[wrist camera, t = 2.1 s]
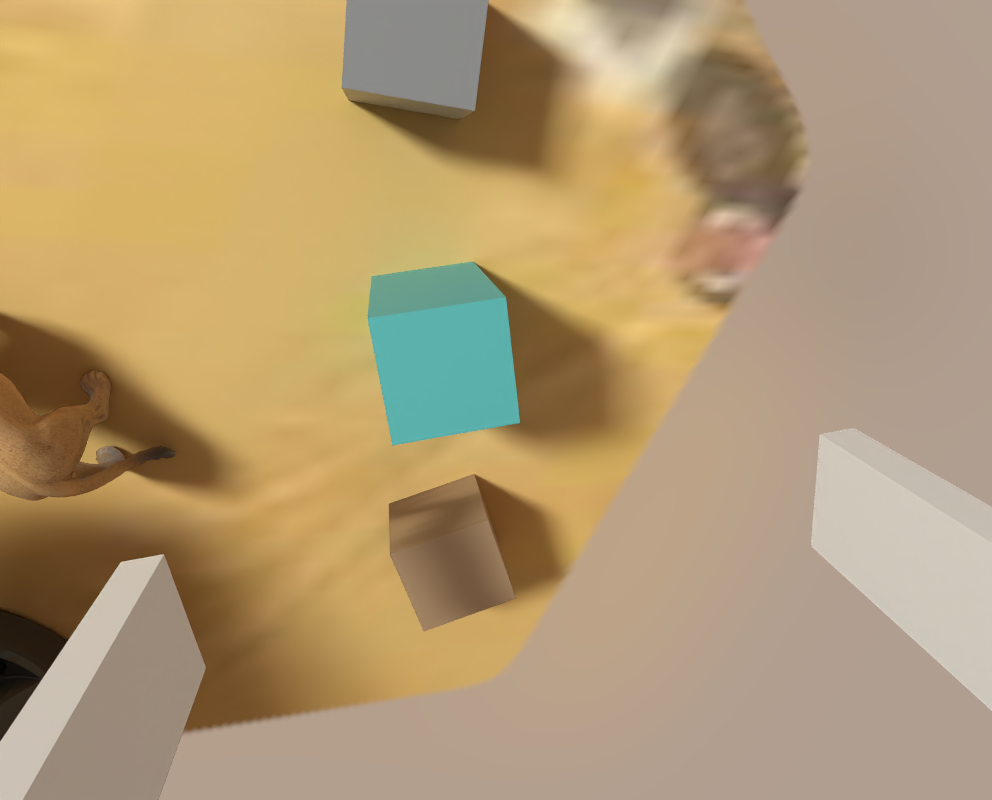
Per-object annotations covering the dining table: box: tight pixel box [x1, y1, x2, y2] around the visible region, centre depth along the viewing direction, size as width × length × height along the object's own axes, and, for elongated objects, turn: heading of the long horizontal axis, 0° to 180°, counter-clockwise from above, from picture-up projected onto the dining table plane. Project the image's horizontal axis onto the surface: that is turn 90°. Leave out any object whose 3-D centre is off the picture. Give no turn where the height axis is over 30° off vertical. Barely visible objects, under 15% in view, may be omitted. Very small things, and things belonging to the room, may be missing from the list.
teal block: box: [368, 262, 520, 445], centre depth 28 cm, size 5×5×9 cm
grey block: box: [342, 0, 488, 119], centre depth 25 cm, size 5×5×5 cm
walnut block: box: [389, 474, 516, 631], centre depth 34 cm, size 5×5×5 cm
